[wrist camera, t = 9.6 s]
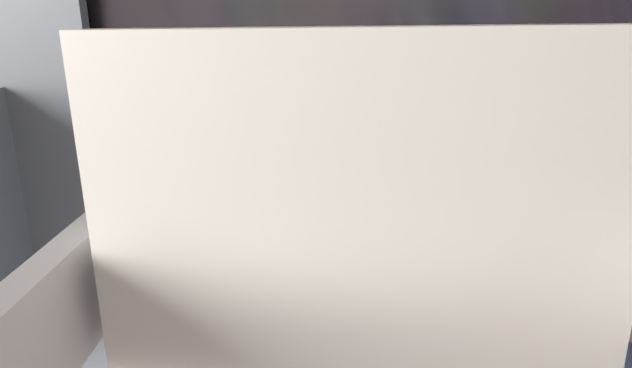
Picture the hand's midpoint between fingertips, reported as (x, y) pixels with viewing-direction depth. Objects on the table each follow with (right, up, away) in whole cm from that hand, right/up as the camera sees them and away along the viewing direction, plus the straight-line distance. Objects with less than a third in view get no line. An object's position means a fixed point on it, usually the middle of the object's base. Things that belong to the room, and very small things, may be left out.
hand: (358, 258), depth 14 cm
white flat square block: (0, 0, -1) cm, 1 cm away
